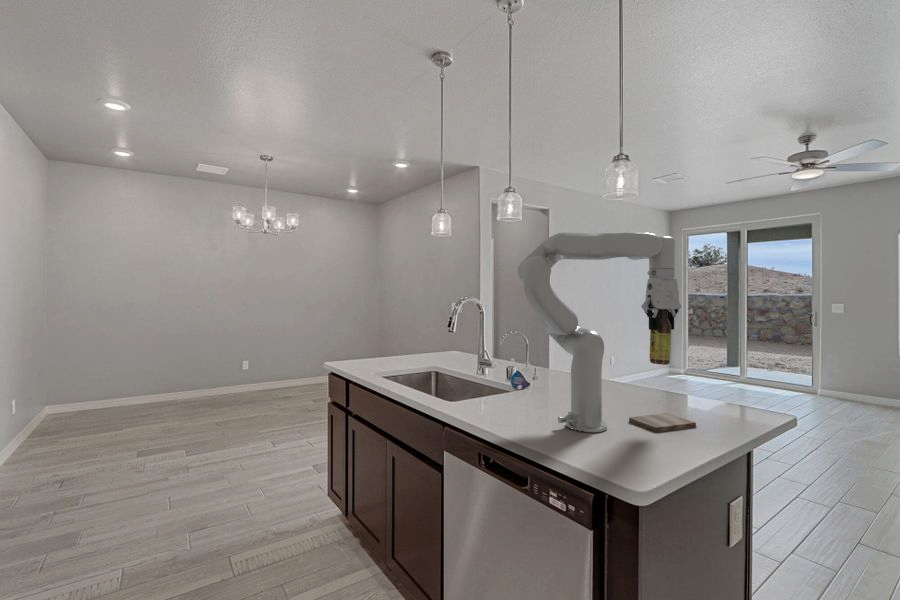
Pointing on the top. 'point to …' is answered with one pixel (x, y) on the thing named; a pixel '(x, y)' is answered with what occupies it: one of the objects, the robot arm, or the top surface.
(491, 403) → the top surface
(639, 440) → the top surface
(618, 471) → the top surface
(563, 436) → the top surface
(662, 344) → the sauce bottle
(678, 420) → the walnut board
